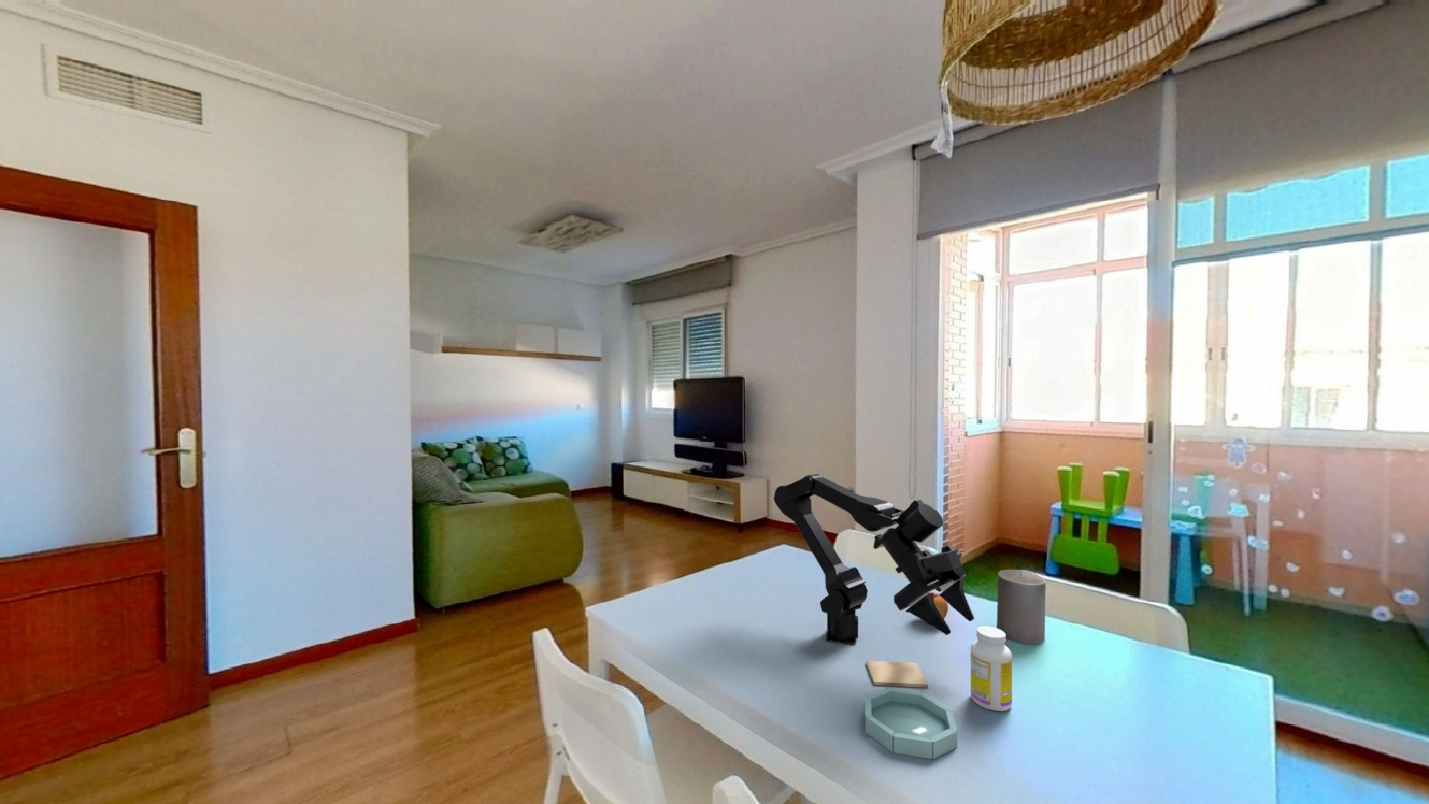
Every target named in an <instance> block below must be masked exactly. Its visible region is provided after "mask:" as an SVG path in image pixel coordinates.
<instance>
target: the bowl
mask: <svg viewBox="0 0 1429 804" xmlns="http://www.w3.org/2000/svg"><path fill="white" fill-rule="evenodd" d="M864 725H865V726H864V732H865V733H866V734H868V735H869V736H870V737H871V738H873V740H875V741H877V742H878V743H879V744H881V745H882V746H883V747H885V748H886V749H887V750H889V751H890V752H892V753H894V754H897V755H904V756H912V757H914V758H915V757H916V758H922V759H928V760H932V759H933V760H935V759H937V758H939V757H941V756H942V755H945V754H946V753H948V752H951V751H952V750H955V749H956V748H958V729H957V728H958V727H957V725H956V720H955V717H954V714H953V711H952V710H951V708H949V707H948V706H947V705H944V703H943V704H942V703H941V702H940V701H938V700H936V699H934V698H933V697H931V696H929V695H927V694H926V693H924V692H923V693H922V692H921V691H913V690H909V689H908V690H907V689H899V688H892V687H889V688H888V687H886V688H884V689H882V690H879V691H876V692H874V693H872V694H869V695H866V696H865V697H864Z"/></svg>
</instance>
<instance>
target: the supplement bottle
mask: <svg viewBox="0 0 1429 804" xmlns="http://www.w3.org/2000/svg"><path fill="white" fill-rule="evenodd" d="M975 637H976V638H977V639H976V640H975V641H973V642H972V643H971V645H970V697H971V699H972V701H973V702H975V703H976V704H977V705H978V706H979V707H982V708H983V709H986V710H989V711H995V712H1004V711H1008V710H1009V709H1011V707H1012V706H1013V654H1012V651H1011V650H1010V648H1009V647H1007V645H1005V644H1006V642H1007V639H1006V634H1005V633H1004V632H1003V631H1002V630H1000V629H997V627H993V626H986V625H985V626H978V627H977V628H976V636H975Z"/></svg>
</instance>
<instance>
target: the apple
mask: <svg viewBox="0 0 1429 804" xmlns="http://www.w3.org/2000/svg"><path fill="white" fill-rule="evenodd" d="M930 593H932V591H930V592H928V593H927V594H930ZM933 594H934V604H935V606H936V608H937V609H938V611H939V612H940V614H941V616H942V617H943V619H944V620H945V618H946V616H947V615H948V611H949V603H947V602H946V601H945V600H944V599H943V598H942V597H941V596H940V595H939V594H940V593H935V592H933ZM923 622H925V621H923ZM925 623H926V624H928V623H927V622H925Z"/></svg>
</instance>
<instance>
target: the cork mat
mask: <svg viewBox="0 0 1429 804" xmlns="http://www.w3.org/2000/svg"><path fill="white" fill-rule="evenodd" d="M865 662H866V663H865V664H866V667H867V669H868V672H869V675H870V677H871V681H872V683H873V685H874V686H887V687H889V686H890V687H905V688H906V687H910V688H927V689H928V688H929V683H928V682H927V680H926V679H925V677H924V675H923V673H922V671H921V670H920V667H919V665H918V663H916V662H902V661H901V662H898V661H882V660H881V661H879V660H878V661H877V660H866V661H865Z"/></svg>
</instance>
